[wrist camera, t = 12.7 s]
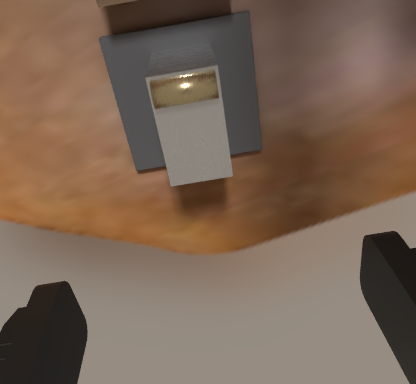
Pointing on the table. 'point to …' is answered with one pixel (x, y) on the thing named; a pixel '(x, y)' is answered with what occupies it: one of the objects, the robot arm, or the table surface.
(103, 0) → the brown flat block
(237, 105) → the rubber mat
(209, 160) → the lever cap
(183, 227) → the table surface
